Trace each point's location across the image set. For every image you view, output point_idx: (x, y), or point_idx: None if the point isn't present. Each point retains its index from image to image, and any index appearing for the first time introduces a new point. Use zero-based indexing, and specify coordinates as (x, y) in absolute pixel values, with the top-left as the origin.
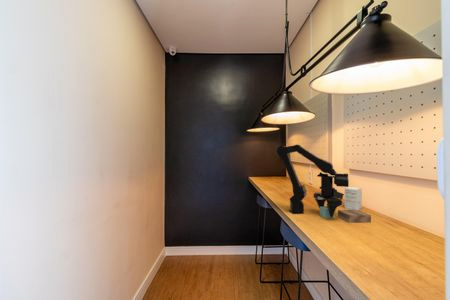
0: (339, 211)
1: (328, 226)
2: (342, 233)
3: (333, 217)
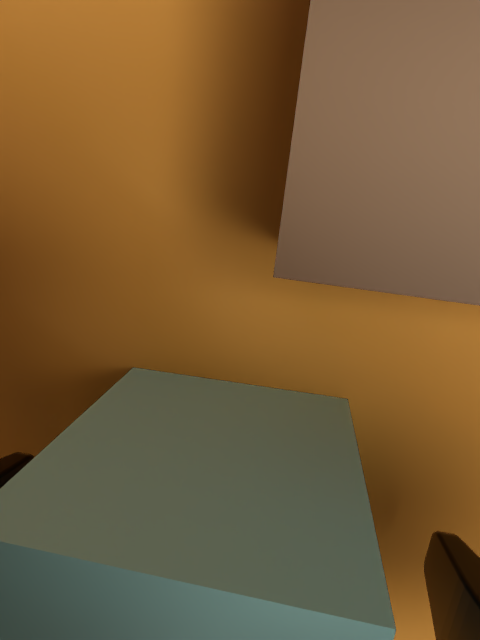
0: (412, 291)
1: None
2: None
3: (346, 411)
